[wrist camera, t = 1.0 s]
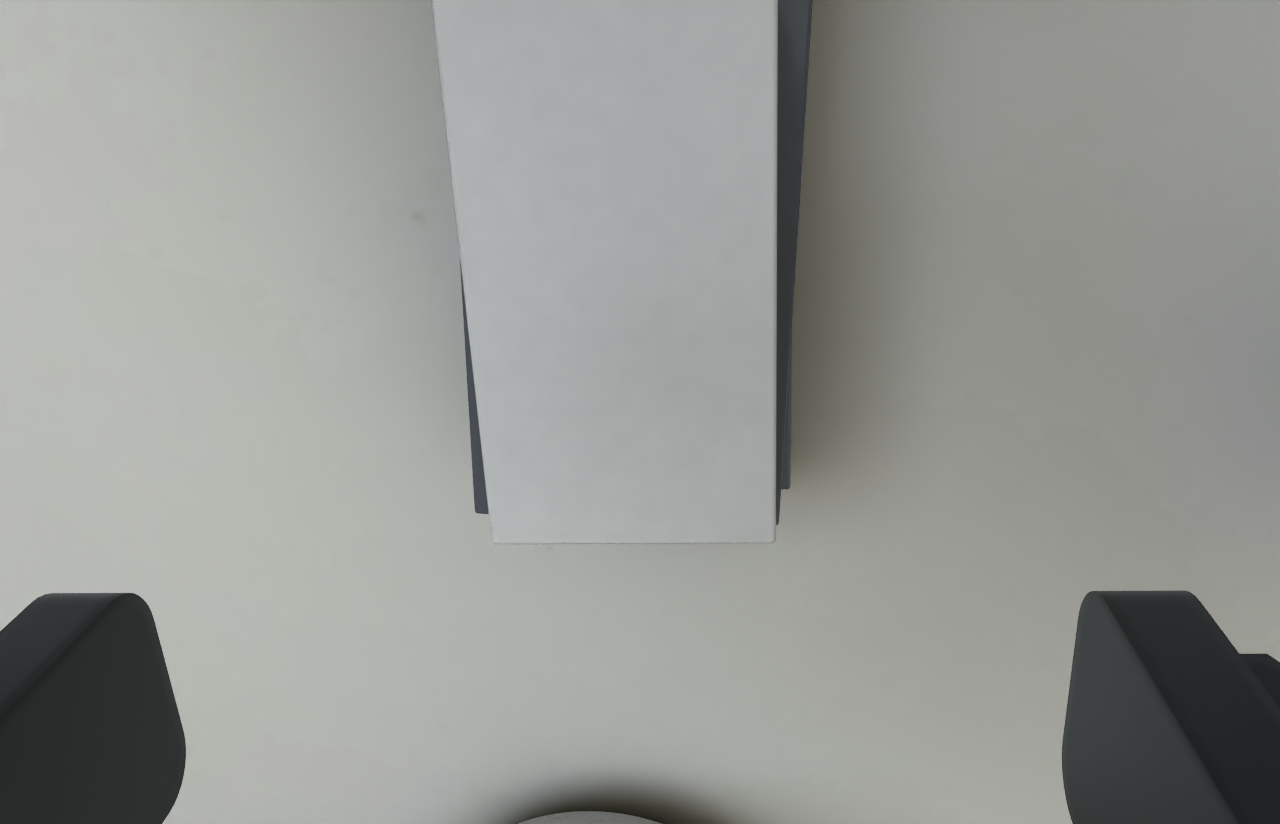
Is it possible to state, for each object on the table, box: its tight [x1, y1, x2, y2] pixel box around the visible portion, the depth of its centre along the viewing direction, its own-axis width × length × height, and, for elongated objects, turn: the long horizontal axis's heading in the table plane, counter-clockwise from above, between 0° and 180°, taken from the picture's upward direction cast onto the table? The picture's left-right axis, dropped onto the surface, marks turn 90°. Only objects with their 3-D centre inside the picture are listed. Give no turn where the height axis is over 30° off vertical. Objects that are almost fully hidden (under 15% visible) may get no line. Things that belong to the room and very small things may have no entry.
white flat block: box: [432, 0, 778, 544], centre depth 21 cm, size 12×6×2 cm, turn 3°
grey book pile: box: [460, 0, 813, 525], centre depth 23 cm, size 13×8×3 cm, turn 3°
